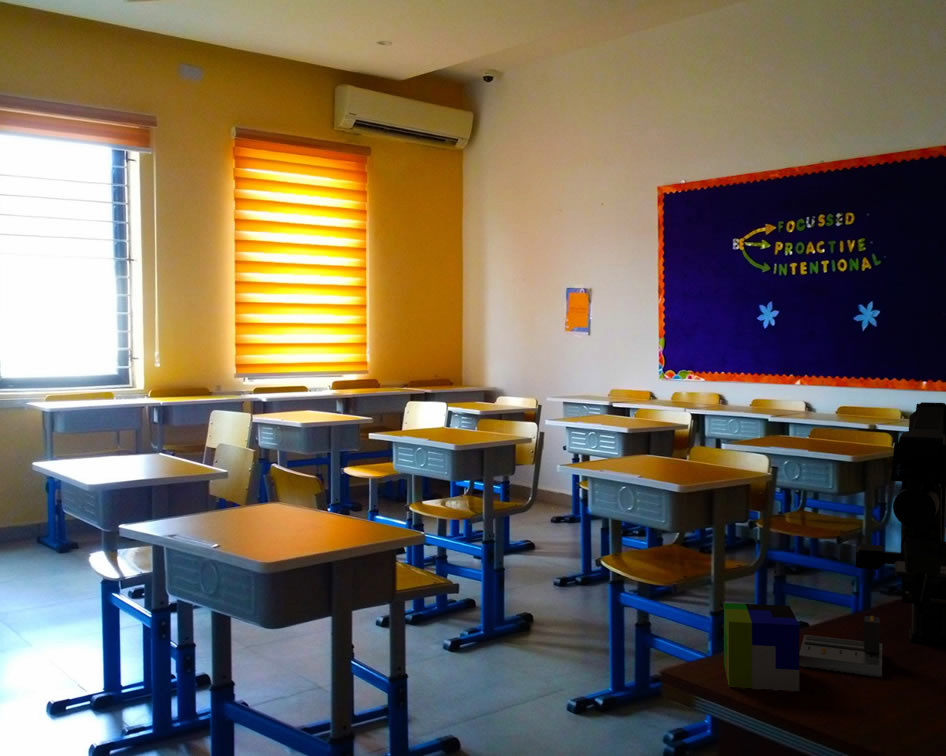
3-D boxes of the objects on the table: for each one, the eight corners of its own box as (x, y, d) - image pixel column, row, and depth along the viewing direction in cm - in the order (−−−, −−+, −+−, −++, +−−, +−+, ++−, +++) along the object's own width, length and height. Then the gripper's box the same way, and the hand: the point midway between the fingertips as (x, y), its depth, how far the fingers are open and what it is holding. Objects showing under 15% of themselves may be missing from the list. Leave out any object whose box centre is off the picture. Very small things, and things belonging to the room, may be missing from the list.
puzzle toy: (799, 692, 132) (799, 625, 132) (728, 687, 134) (728, 621, 134) (789, 668, 142) (789, 605, 142) (724, 664, 144) (723, 602, 144)
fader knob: (864, 645, 146) (864, 614, 146) (879, 647, 145) (879, 616, 145) (864, 651, 143) (864, 620, 143) (879, 653, 142) (879, 621, 142)
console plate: (804, 645, 153) (804, 634, 153) (882, 654, 148) (882, 642, 148) (798, 666, 143) (798, 654, 143) (881, 677, 138) (881, 664, 138)
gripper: (854, 521, 137) (854, 623, 138) (995, 530, 129) (995, 638, 130) (856, 508, 147) (856, 603, 148) (988, 516, 139) (987, 616, 140)
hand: (920, 615), depth 141 cm, fingers closed
